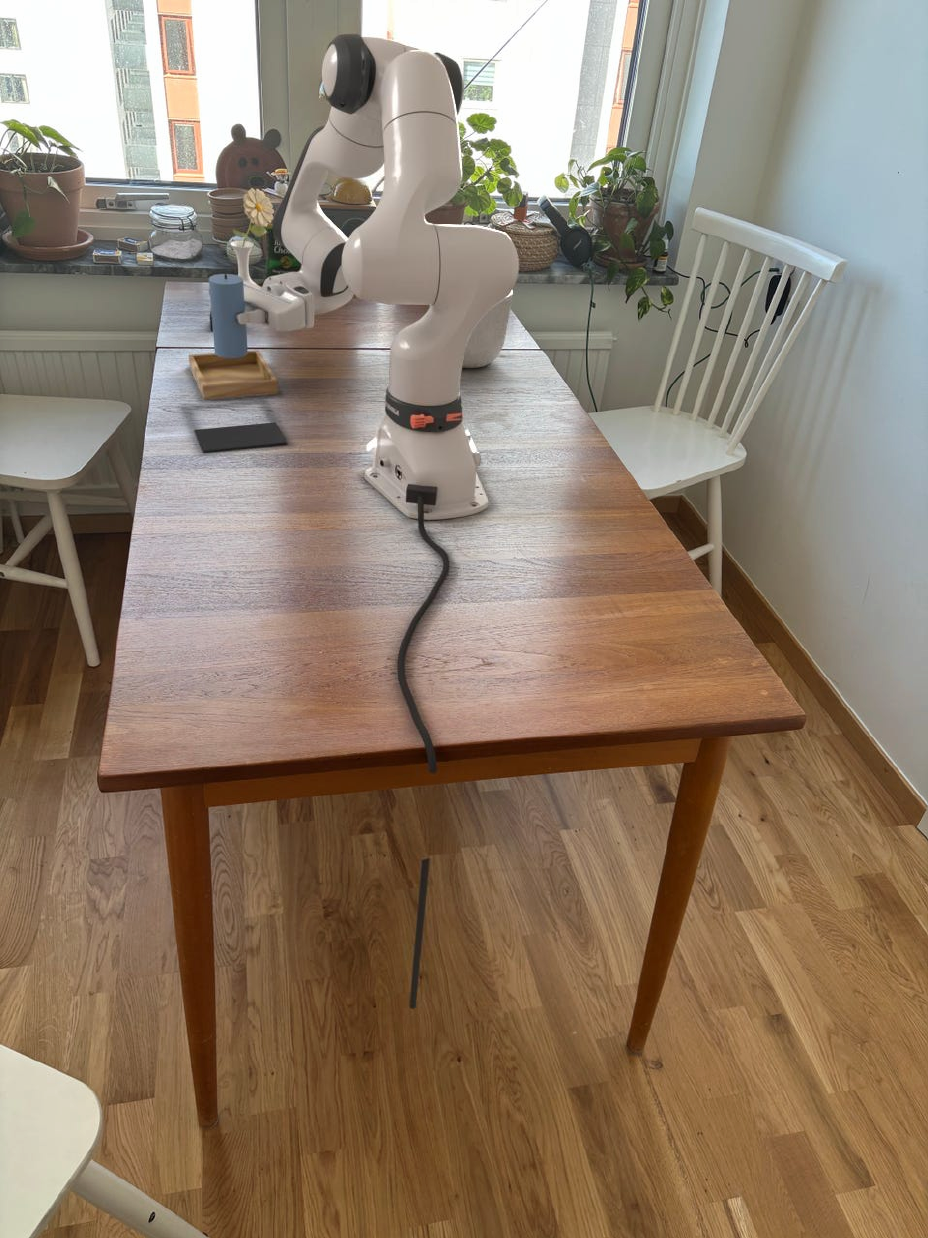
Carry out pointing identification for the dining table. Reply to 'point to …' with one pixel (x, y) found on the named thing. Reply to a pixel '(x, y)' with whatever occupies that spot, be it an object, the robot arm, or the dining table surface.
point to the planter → (488, 336)
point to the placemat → (239, 437)
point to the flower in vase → (252, 228)
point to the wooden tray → (232, 375)
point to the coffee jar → (278, 254)
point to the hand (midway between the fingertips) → (224, 313)
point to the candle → (227, 315)
